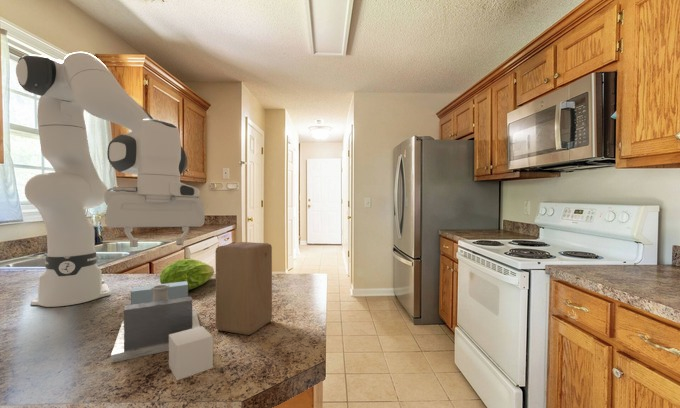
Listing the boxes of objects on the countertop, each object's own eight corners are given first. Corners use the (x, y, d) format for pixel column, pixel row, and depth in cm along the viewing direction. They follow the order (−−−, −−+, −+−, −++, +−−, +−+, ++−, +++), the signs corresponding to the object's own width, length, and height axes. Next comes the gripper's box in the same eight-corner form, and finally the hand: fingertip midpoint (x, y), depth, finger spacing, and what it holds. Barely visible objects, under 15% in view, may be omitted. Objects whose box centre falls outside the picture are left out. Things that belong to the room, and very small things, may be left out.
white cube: (202, 356, 61) (202, 325, 61) (212, 368, 56) (212, 335, 56) (168, 366, 57) (168, 334, 57) (176, 381, 52) (176, 345, 52)
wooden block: (273, 320, 78) (273, 242, 78) (249, 337, 69) (249, 248, 69) (240, 316, 82) (240, 241, 81) (214, 331, 72) (213, 246, 72)
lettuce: (230, 265, 122) (206, 246, 123) (196, 277, 97) (166, 253, 99) (212, 289, 122) (188, 270, 123) (174, 307, 97) (145, 283, 99)
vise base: (122, 327, 74) (122, 288, 74) (195, 314, 82) (195, 279, 82) (110, 362, 58) (110, 313, 58) (202, 343, 66) (202, 299, 66)
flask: (185, 325, 72) (185, 282, 72) (163, 338, 65) (163, 291, 65) (157, 323, 73) (157, 281, 73) (133, 336, 66) (132, 290, 66)
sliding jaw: (132, 319, 75) (132, 287, 75) (187, 310, 81) (186, 281, 81) (130, 324, 72) (130, 291, 71) (188, 315, 78) (187, 284, 77)
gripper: (102, 185, 65) (100, 250, 65) (206, 189, 75) (204, 245, 75) (107, 186, 71) (106, 245, 71) (203, 190, 81) (202, 242, 81)
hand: (157, 245), depth 73 cm, fingers open, 8 cm apart
